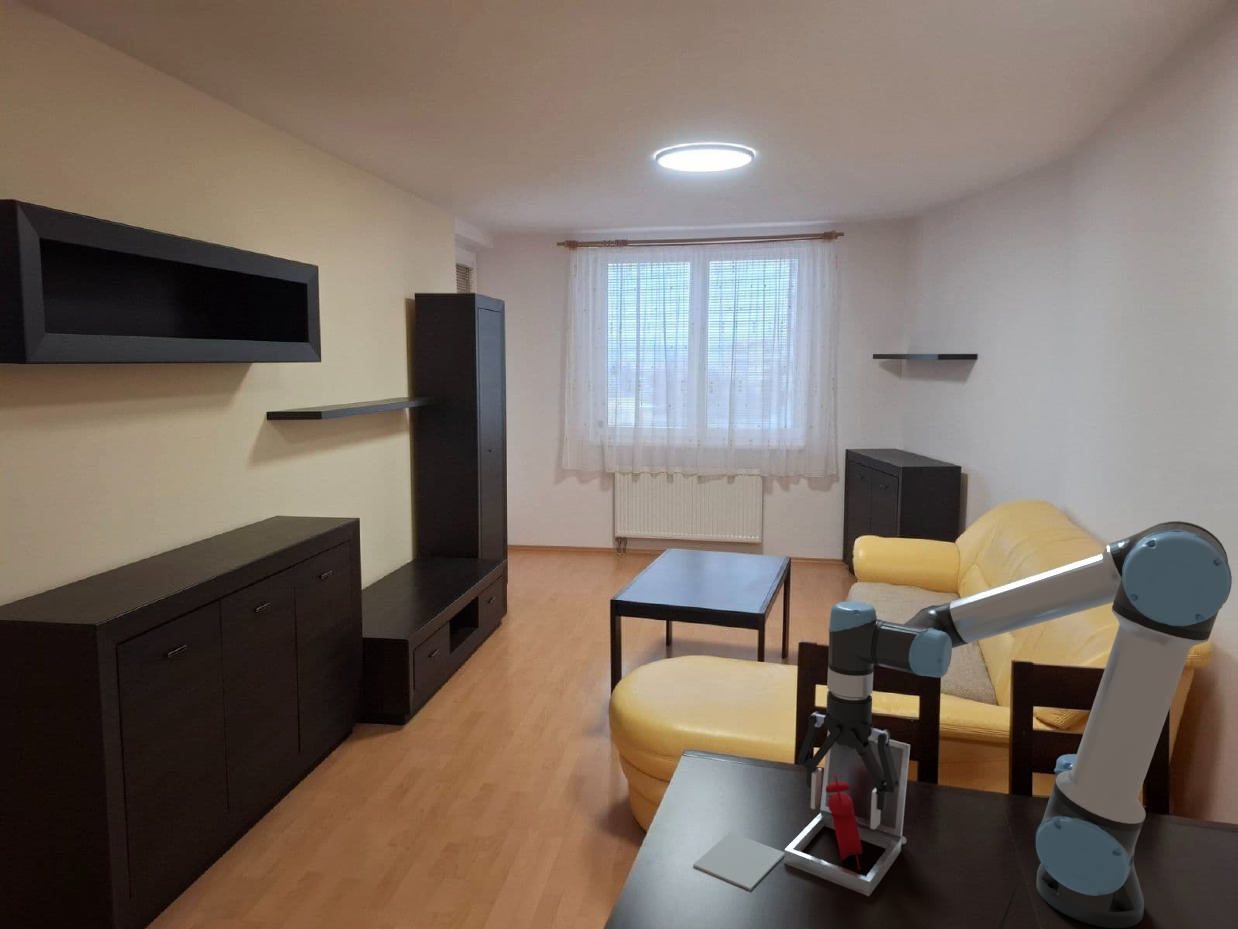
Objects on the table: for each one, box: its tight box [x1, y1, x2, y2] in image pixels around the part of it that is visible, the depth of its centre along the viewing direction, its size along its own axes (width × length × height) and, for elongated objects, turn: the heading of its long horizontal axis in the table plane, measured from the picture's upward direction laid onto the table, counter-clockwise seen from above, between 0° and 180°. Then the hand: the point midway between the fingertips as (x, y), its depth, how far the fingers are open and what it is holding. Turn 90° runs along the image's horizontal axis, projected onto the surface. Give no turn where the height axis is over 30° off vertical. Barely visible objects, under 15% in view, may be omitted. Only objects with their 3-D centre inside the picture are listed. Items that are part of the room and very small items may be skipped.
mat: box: [692, 831, 784, 892], centre depth 141 cm, size 11×13×1 cm
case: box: [783, 809, 902, 897], centre depth 143 cm, size 15×16×3 cm
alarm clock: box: [826, 772, 864, 870], centre depth 142 cm, size 10×6×15 cm, turn 170°
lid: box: [820, 730, 911, 836], centre depth 149 cm, size 15×16×1 cm
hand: (844, 815), depth 142 cm, fingers open, 10 cm apart
